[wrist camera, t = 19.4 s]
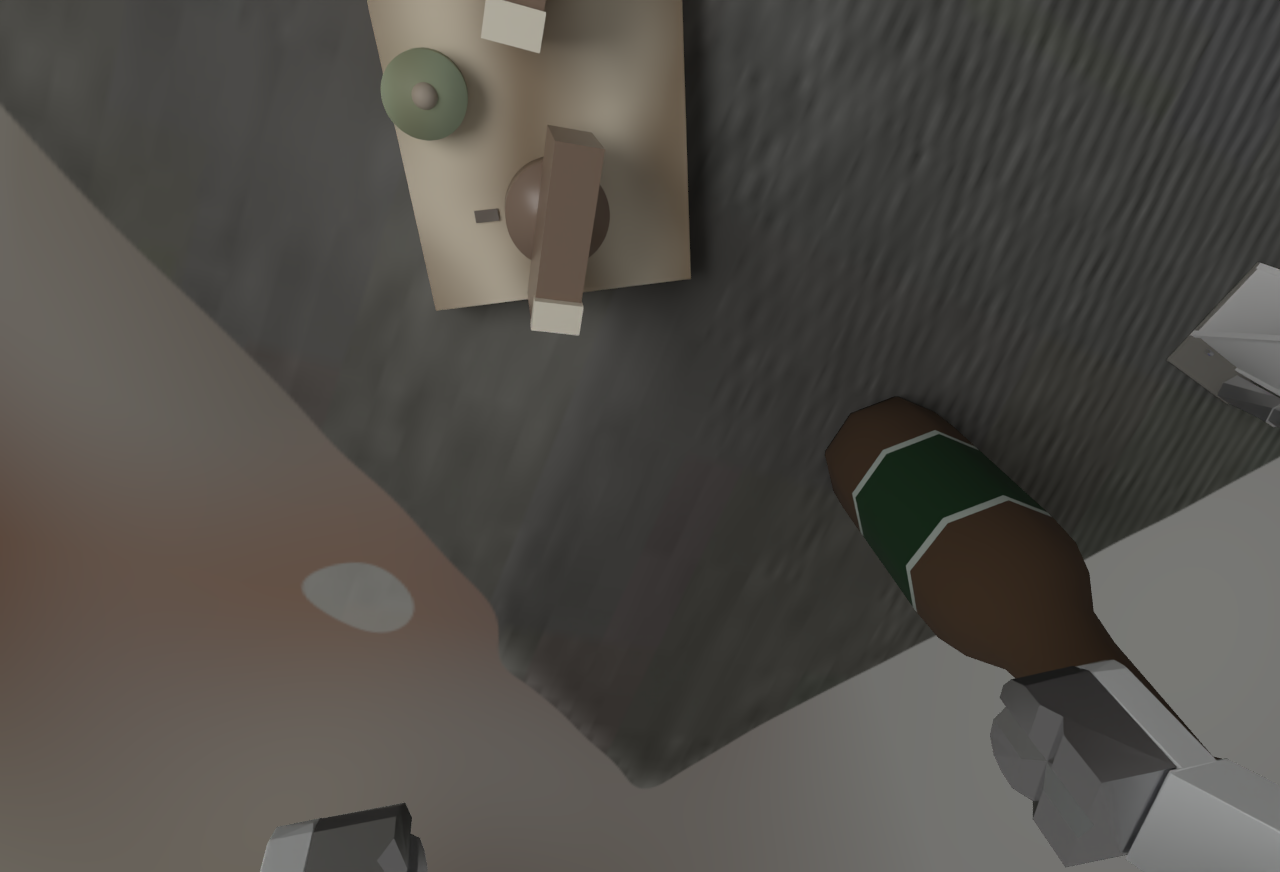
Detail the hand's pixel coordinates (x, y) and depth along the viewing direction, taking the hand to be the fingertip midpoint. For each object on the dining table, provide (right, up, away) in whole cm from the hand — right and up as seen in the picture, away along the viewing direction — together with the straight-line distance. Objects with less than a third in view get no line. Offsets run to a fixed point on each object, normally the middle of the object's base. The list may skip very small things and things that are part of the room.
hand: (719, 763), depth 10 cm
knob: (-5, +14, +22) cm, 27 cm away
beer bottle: (+14, +4, +35) cm, 38 cm away
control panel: (-5, +20, +22) cm, 30 cm away
